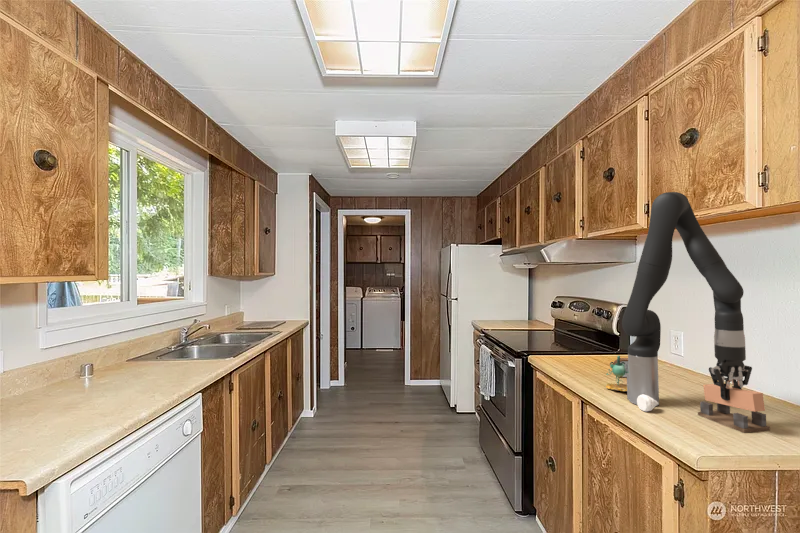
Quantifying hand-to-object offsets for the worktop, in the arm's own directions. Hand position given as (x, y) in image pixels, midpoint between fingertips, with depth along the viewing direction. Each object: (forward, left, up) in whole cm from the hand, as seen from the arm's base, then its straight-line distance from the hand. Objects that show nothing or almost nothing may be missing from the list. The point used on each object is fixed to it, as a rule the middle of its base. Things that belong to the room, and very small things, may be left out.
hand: (731, 399), depth 126 cm
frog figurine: (-37, -10, -8) cm, 39 cm away
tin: (-52, +8, -8) cm, 53 cm away
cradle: (0, 0, -7) cm, 7 cm away
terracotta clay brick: (+1, 0, -2) cm, 2 cm away
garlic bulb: (-15, -16, -7) cm, 23 cm away
